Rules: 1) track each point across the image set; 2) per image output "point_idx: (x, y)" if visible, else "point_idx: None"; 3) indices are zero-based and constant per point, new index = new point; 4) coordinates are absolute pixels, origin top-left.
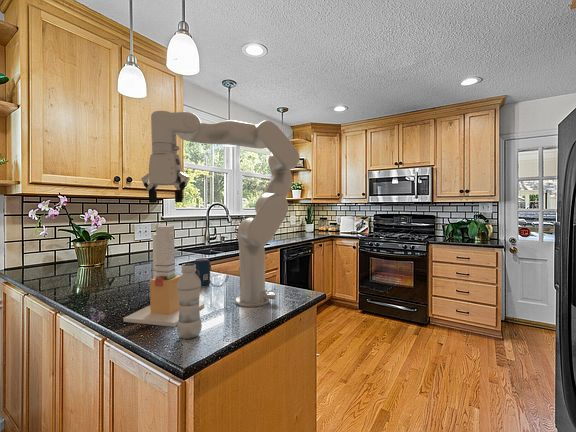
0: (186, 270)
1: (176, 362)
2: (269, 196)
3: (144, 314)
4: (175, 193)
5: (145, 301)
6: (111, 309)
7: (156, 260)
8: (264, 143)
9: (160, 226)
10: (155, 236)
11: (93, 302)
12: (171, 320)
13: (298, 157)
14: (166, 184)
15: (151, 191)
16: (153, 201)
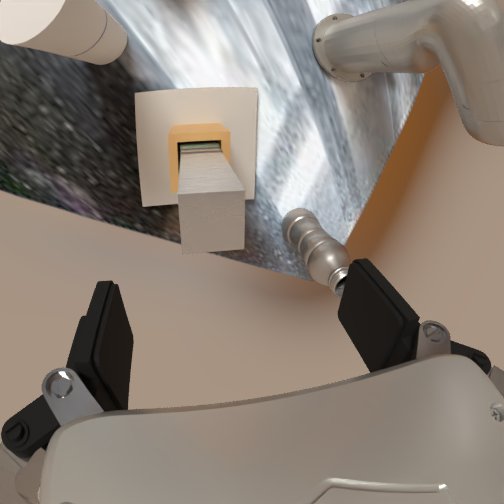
0: (342, 292)
1: (309, 278)
2: None
3: (168, 180)
4: (368, 360)
5: (93, 95)
6: (66, 162)
7: (67, 54)
8: None
9: (198, 241)
10: (22, 44)
11: (4, 148)
12: None
13: None
14: (226, 413)
15: (124, 407)
16: (125, 322)
